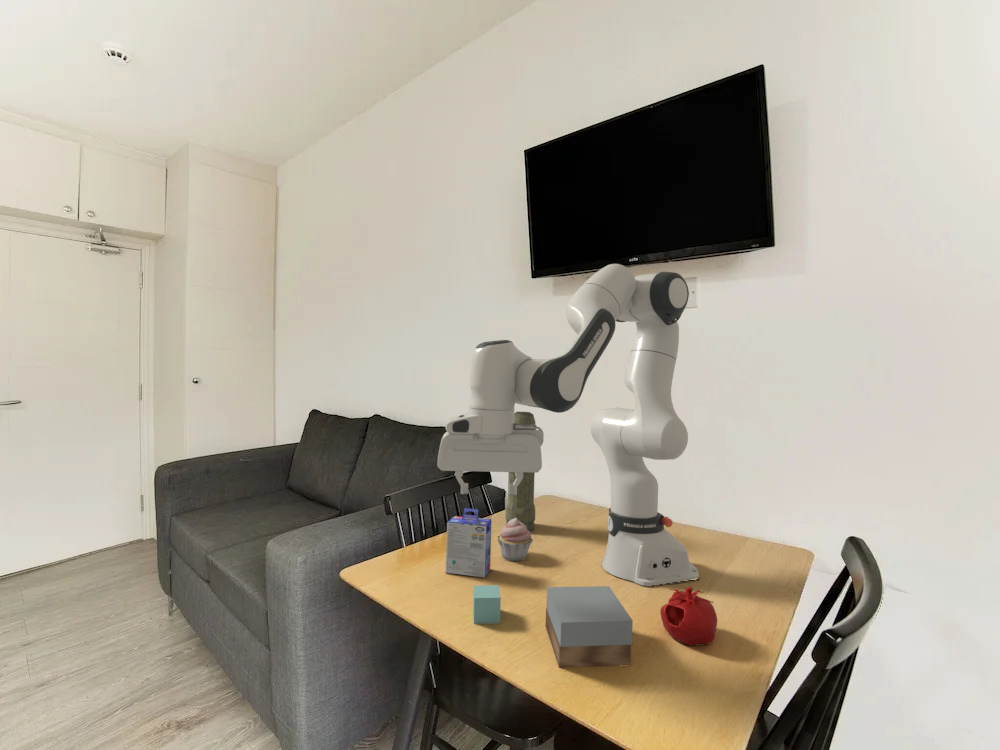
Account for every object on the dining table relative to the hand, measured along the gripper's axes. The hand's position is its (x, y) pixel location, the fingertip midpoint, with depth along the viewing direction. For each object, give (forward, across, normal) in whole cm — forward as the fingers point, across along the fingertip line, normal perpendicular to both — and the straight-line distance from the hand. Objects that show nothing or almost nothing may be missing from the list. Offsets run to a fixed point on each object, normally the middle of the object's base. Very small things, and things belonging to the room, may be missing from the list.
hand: (488, 493), depth 91 cm
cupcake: (+24, -9, -28) cm, 38 cm away
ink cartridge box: (+24, +3, -20) cm, 31 cm away
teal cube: (+24, 0, 0) cm, 24 cm away
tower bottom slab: (+24, -18, +10) cm, 32 cm away
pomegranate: (+24, -38, +8) cm, 45 cm away
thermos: (+24, -13, -50) cm, 56 cm away
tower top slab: (+20, -18, +10) cm, 29 cm away
